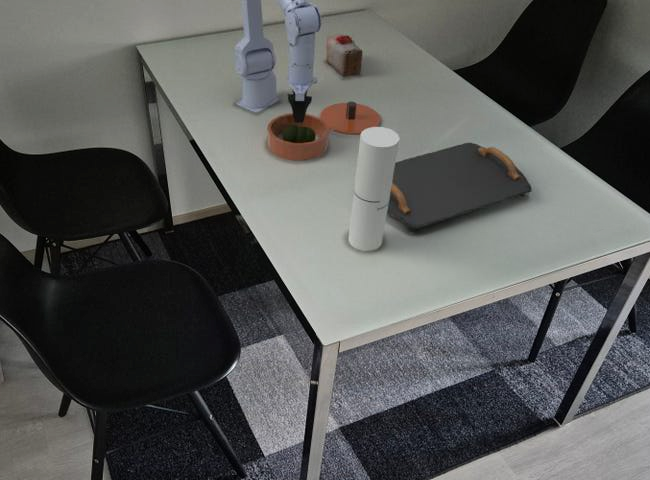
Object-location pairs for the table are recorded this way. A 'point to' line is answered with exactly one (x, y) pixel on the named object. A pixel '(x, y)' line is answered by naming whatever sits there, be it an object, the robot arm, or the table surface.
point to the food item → (344, 55)
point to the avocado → (298, 134)
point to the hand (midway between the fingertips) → (299, 114)
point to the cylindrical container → (372, 187)
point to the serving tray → (452, 184)
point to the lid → (350, 118)
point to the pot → (297, 149)
